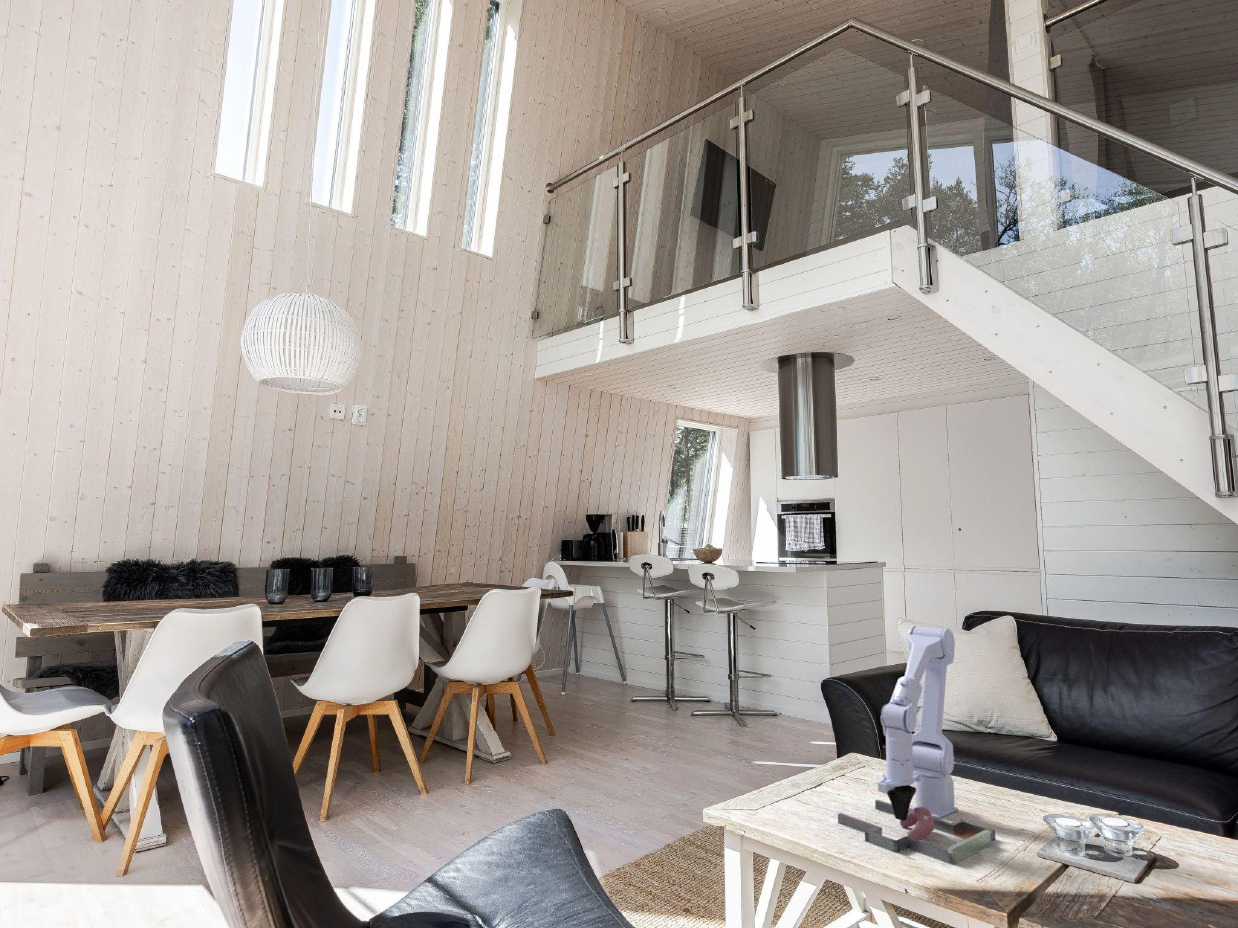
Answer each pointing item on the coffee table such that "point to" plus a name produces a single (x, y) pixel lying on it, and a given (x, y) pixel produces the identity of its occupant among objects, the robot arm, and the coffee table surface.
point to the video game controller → (919, 822)
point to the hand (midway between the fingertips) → (900, 818)
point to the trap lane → (973, 842)
